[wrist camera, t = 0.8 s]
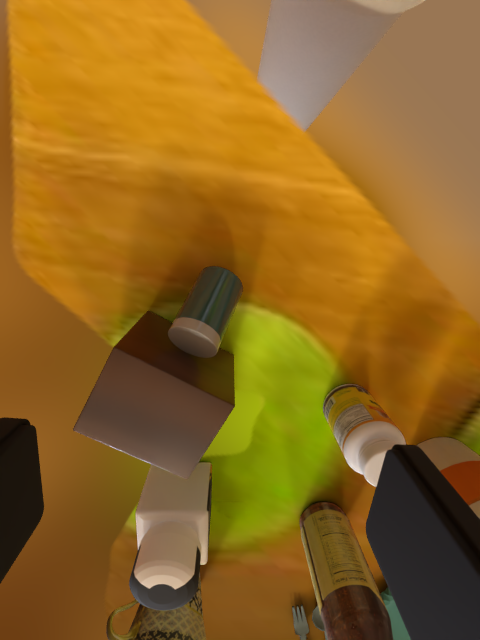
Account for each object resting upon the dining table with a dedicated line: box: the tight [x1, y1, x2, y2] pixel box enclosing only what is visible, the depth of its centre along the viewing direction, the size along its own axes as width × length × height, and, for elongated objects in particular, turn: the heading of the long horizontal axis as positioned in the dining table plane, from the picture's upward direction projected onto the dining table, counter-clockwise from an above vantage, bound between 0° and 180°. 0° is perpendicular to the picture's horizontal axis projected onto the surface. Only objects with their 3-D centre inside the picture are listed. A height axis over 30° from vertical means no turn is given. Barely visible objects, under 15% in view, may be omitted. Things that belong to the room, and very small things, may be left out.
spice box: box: [73, 310, 235, 479], centre depth 29 cm, size 8×10×10 cm
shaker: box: [168, 266, 243, 358], centre depth 28 cm, size 8×4×8 cm, turn 150°
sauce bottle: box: [300, 502, 393, 640], centre depth 32 cm, size 7×6×20 cm
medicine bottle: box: [129, 462, 212, 611], centre depth 33 cm, size 7×7×12 cm
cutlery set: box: [292, 587, 411, 640], centre depth 46 cm, size 20×30×2 cm, turn 100°
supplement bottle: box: [323, 384, 406, 487], centre depth 31 cm, size 6×6×10 cm
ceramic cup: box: [107, 572, 206, 640], centre depth 38 cm, size 13×10×10 cm
